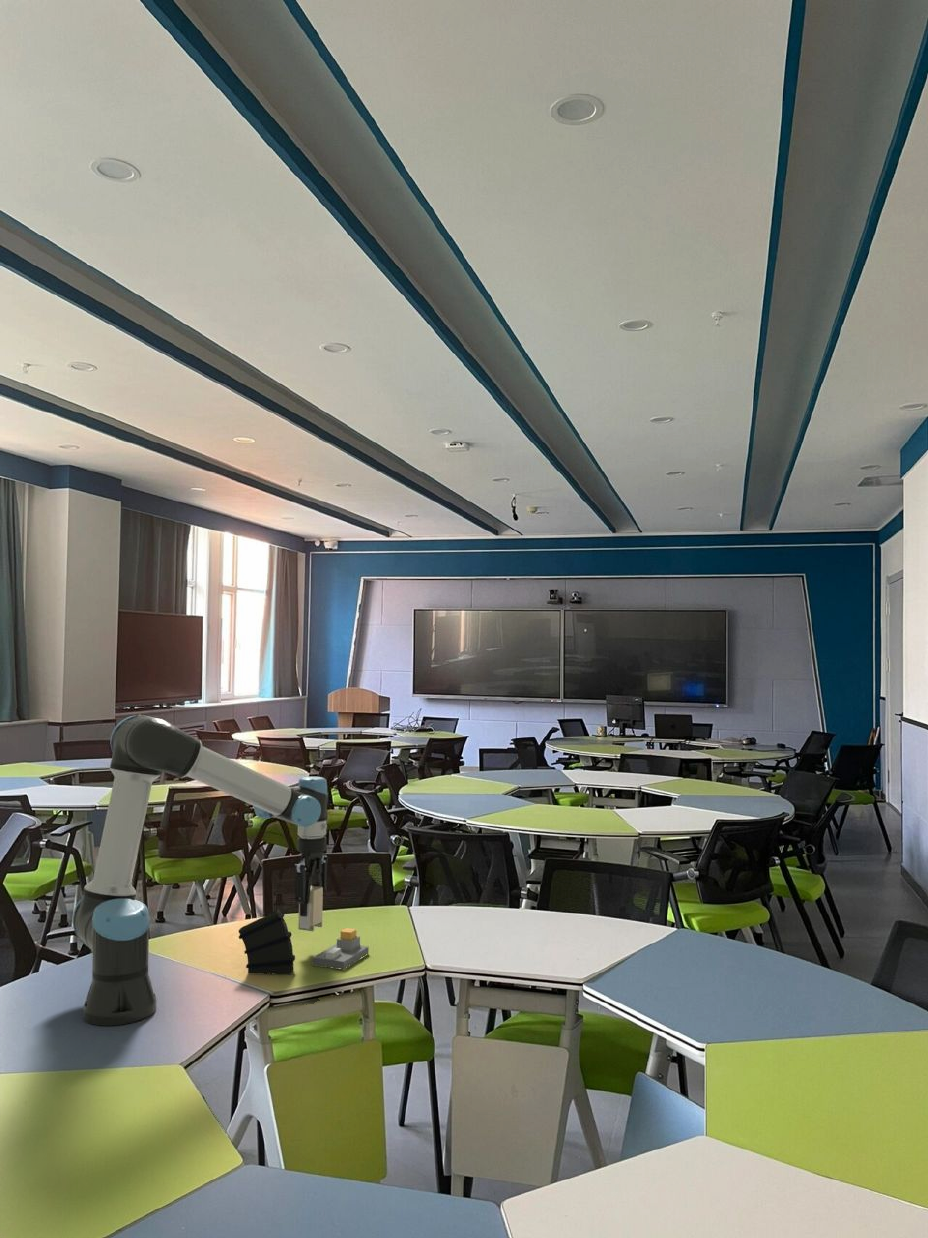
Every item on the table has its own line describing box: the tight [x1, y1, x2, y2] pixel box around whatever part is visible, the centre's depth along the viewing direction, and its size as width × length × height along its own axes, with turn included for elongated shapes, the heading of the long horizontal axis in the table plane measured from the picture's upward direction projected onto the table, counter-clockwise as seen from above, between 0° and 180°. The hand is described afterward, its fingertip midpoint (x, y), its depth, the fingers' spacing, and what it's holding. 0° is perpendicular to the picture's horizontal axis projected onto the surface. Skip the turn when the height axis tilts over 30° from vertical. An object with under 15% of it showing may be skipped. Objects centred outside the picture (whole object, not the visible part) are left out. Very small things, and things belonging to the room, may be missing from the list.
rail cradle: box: [312, 935, 370, 970], centre depth 244 cm, size 9×13×4 cm
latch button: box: [340, 927, 357, 940], centre depth 248 cm, size 3×3×3 cm
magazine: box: [238, 909, 296, 975], centre depth 235 cm, size 4×13×15 cm, turn 88°
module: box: [298, 885, 324, 932], centre depth 251 cm, size 5×4×10 cm
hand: (310, 925), depth 251 cm, fingers closed on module, 5 cm apart
